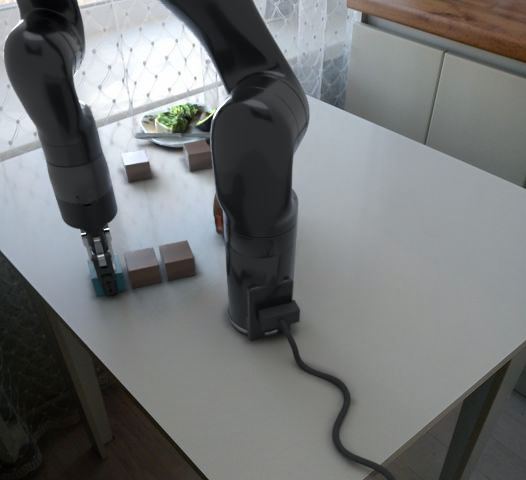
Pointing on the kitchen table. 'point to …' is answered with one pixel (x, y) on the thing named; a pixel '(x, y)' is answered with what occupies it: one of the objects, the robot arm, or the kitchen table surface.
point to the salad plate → (177, 124)
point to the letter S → (118, 271)
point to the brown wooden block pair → (147, 268)
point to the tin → (218, 216)
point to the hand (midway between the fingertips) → (108, 282)
